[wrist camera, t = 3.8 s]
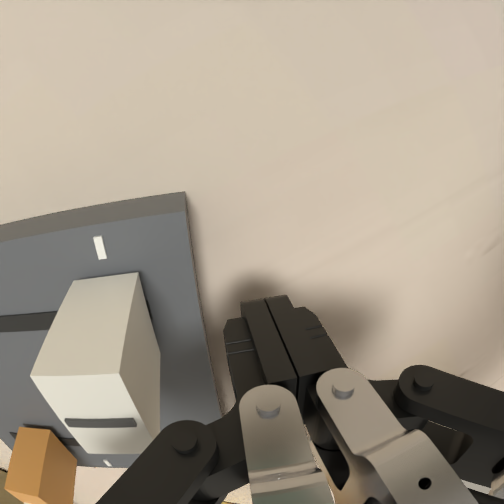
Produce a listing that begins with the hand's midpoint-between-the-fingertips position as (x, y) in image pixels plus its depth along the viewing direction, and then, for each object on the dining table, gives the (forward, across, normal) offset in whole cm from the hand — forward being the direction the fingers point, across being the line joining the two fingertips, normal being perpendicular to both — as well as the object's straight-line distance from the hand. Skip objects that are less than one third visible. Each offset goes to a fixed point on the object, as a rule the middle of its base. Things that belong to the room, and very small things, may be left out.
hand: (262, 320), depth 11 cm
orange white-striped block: (+1, +13, +9) cm, 16 cm away
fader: (+1, +5, 0) cm, 5 cm away
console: (+4, +10, +4) cm, 12 cm away
